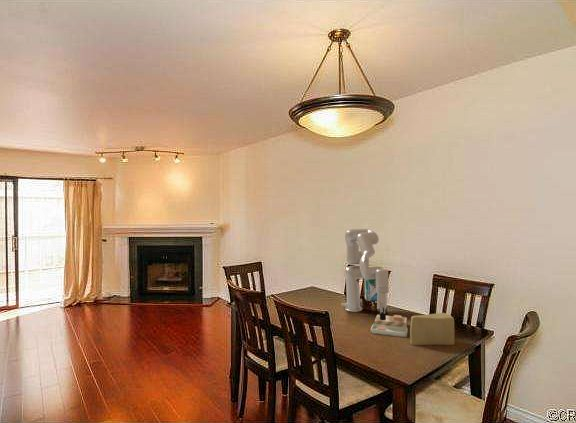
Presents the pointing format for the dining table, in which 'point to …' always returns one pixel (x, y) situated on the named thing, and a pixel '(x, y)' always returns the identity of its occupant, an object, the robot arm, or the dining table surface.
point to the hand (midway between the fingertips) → (383, 319)
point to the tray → (390, 330)
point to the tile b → (397, 317)
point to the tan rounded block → (432, 329)
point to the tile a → (381, 328)
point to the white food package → (391, 321)
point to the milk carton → (370, 289)
